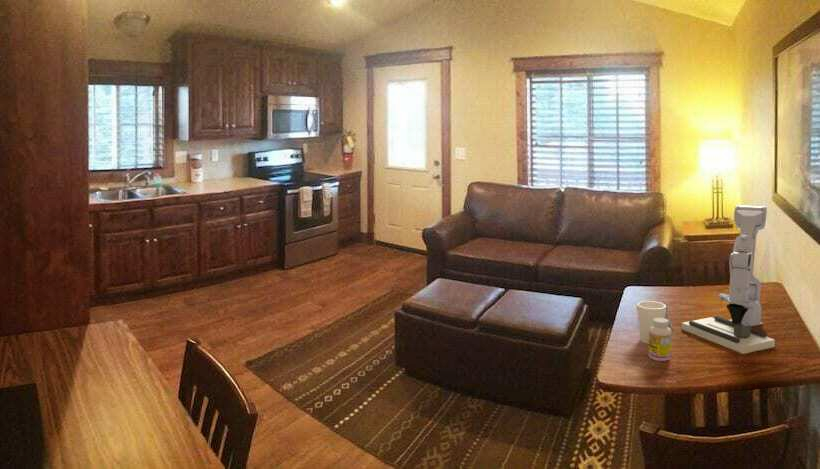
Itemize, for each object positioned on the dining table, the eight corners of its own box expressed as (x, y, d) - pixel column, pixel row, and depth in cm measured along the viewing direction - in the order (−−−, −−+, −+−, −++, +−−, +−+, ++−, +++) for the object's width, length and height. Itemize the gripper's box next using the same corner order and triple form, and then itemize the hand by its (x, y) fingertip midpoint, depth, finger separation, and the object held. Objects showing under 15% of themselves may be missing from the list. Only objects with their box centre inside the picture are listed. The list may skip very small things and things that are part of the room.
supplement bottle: (644, 354, 196) (645, 317, 194) (663, 353, 197) (665, 315, 194) (654, 362, 189) (655, 323, 187) (674, 361, 190) (676, 322, 188)
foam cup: (666, 346, 202) (668, 309, 200) (637, 344, 204) (639, 308, 202) (661, 336, 211) (663, 301, 209) (634, 335, 213) (635, 300, 211)
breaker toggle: (742, 333, 204) (743, 322, 203) (750, 336, 201) (750, 324, 200) (733, 335, 202) (734, 324, 201) (741, 338, 199) (742, 326, 199)
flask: (675, 333, 214) (676, 306, 212) (654, 332, 215) (655, 306, 214) (670, 326, 221) (671, 300, 219) (650, 325, 222) (651, 300, 221)
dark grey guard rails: (717, 319, 219) (717, 315, 219) (766, 336, 200) (766, 332, 200) (688, 325, 214) (688, 320, 214) (736, 343, 196) (736, 338, 196)
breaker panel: (710, 323, 222) (711, 316, 222) (774, 346, 198) (775, 339, 198) (681, 329, 217) (681, 322, 217) (743, 353, 193) (743, 346, 193)
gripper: (712, 283, 206) (710, 320, 209) (749, 294, 193) (746, 333, 195) (728, 280, 208) (725, 317, 211) (765, 291, 195) (762, 330, 198)
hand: (736, 325), depth 203 cm, fingers closed
